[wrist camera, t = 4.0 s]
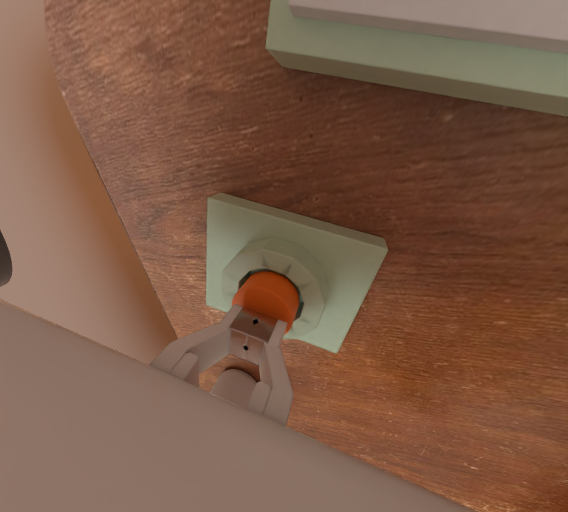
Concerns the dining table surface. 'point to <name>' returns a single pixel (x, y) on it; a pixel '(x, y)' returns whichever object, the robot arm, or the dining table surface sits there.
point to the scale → (432, 46)
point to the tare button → (269, 296)
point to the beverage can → (234, 386)
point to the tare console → (291, 263)
